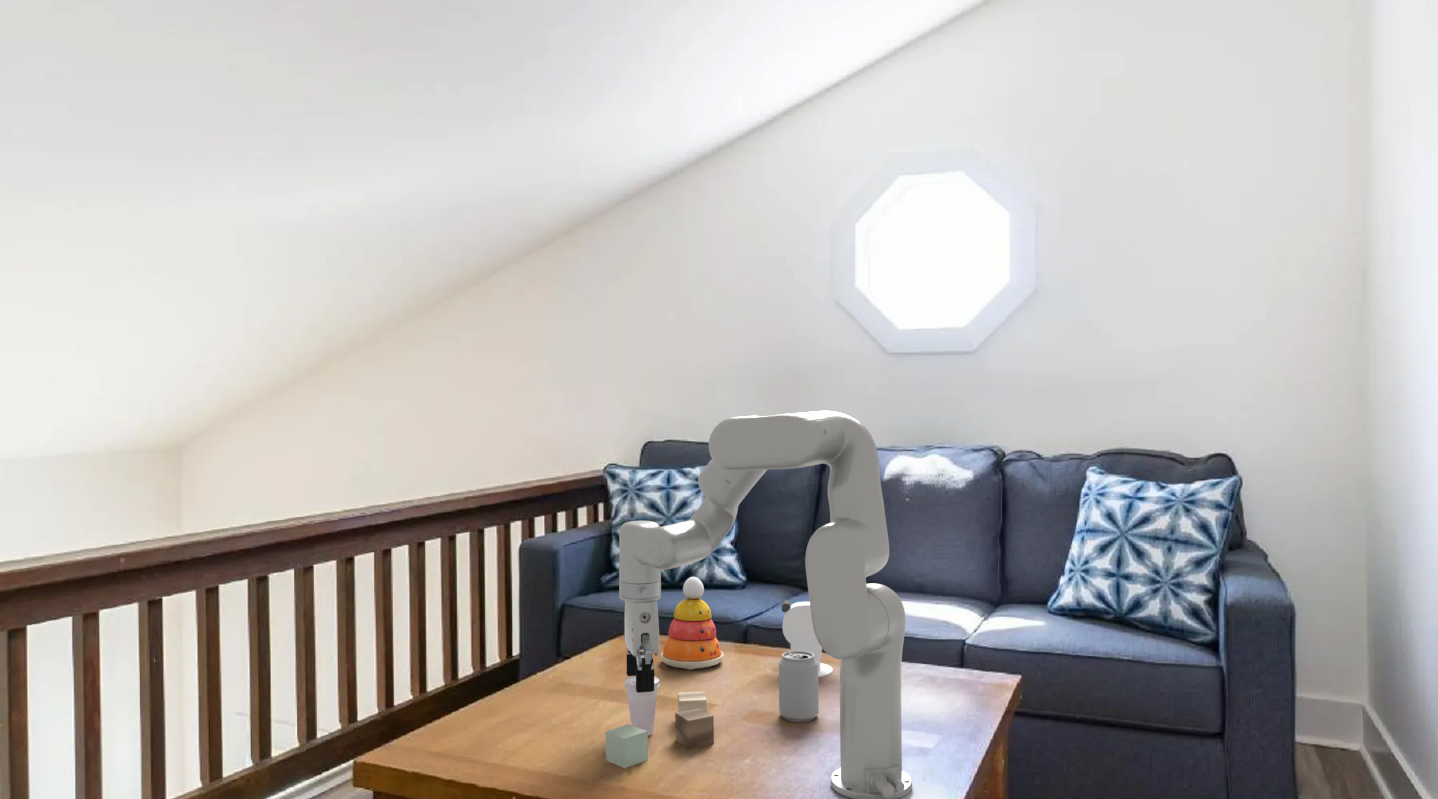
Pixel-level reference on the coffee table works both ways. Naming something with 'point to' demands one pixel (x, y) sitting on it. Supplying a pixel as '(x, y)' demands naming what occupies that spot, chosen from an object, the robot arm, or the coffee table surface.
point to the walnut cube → (694, 728)
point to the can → (798, 686)
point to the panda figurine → (802, 632)
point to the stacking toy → (692, 632)
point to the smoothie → (642, 705)
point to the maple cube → (691, 701)
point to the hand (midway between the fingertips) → (640, 683)
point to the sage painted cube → (626, 746)
